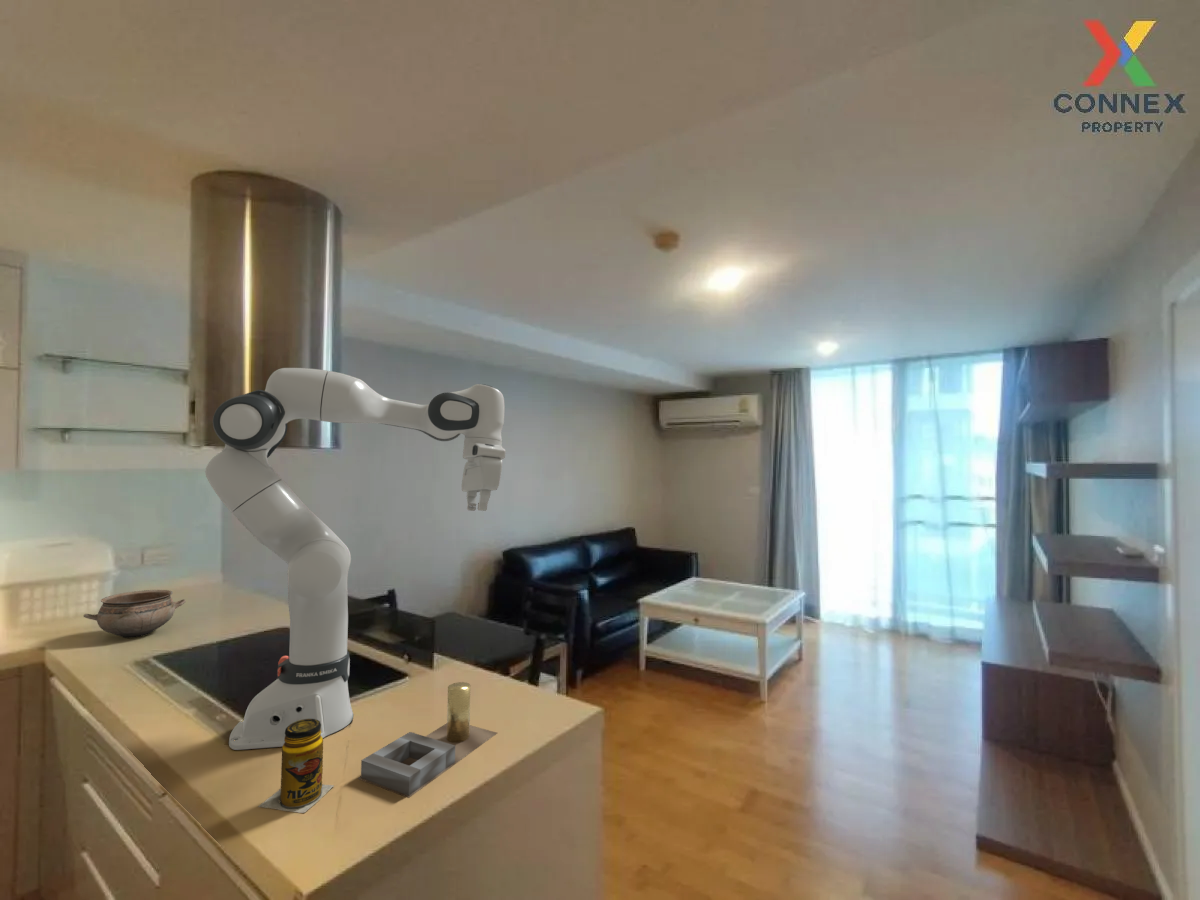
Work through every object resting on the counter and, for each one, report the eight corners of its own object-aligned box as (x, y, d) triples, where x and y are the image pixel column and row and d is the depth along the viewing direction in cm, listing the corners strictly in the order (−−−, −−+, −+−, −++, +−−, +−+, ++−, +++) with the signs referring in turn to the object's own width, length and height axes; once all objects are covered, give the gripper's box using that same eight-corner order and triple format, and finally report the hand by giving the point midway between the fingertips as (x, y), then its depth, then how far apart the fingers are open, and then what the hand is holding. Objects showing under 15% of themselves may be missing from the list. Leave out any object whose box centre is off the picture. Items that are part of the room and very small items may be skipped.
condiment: (304, 813, 85) (307, 737, 85) (257, 807, 86) (259, 732, 87) (334, 786, 92) (336, 716, 92) (290, 781, 93) (292, 712, 94)
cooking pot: (177, 620, 187) (178, 585, 187) (192, 631, 175) (193, 594, 175) (77, 637, 168) (79, 598, 168) (87, 651, 155) (88, 609, 156)
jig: (408, 803, 88) (409, 779, 88) (357, 784, 93) (357, 760, 93) (497, 737, 109) (498, 717, 109) (451, 724, 114) (452, 705, 115)
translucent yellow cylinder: (447, 744, 104) (449, 692, 105) (445, 733, 109) (446, 683, 109) (470, 740, 106) (471, 689, 106) (467, 730, 110) (468, 680, 111)
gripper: (458, 454, 136) (452, 509, 133) (480, 446, 118) (474, 509, 116) (482, 457, 138) (477, 511, 136) (508, 450, 120) (502, 511, 118)
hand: (476, 510), depth 126 cm, fingers open, 8 cm apart
